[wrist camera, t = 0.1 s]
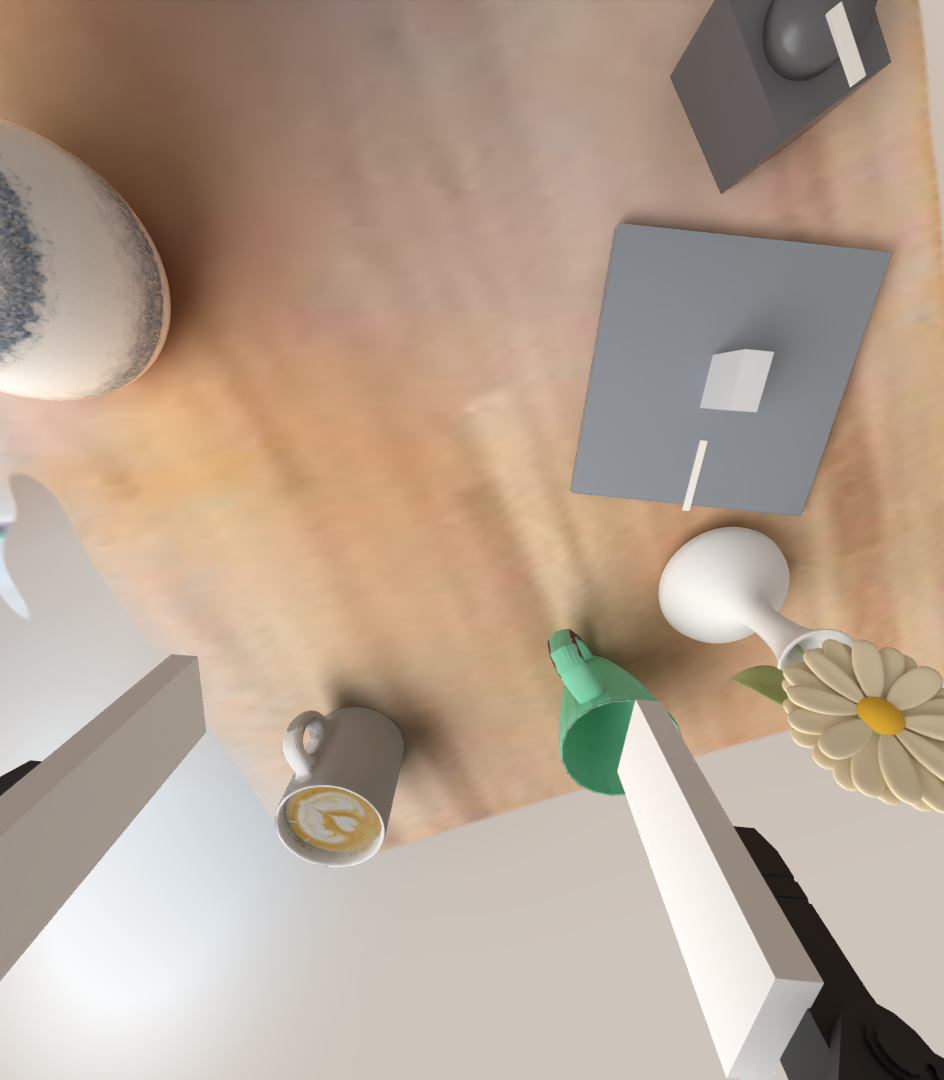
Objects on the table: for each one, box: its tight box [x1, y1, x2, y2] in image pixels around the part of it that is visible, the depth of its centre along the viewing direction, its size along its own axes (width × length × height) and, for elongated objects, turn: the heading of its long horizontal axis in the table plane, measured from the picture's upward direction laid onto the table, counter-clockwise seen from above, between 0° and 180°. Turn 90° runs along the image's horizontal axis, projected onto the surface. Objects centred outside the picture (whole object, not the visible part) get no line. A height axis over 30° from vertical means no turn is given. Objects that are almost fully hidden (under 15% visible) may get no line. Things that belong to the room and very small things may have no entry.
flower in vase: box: [659, 527, 944, 813], centre depth 30 cm, size 13×11×25 cm
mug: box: [548, 629, 682, 796], centre depth 40 cm, size 15×10×10 cm
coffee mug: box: [275, 707, 404, 868], centre depth 43 cm, size 13×10×10 cm
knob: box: [670, 0, 891, 194], centre depth 26 cm, size 8×6×9 cm
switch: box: [570, 223, 892, 516], centre depth 34 cm, size 20×20×6 cm
